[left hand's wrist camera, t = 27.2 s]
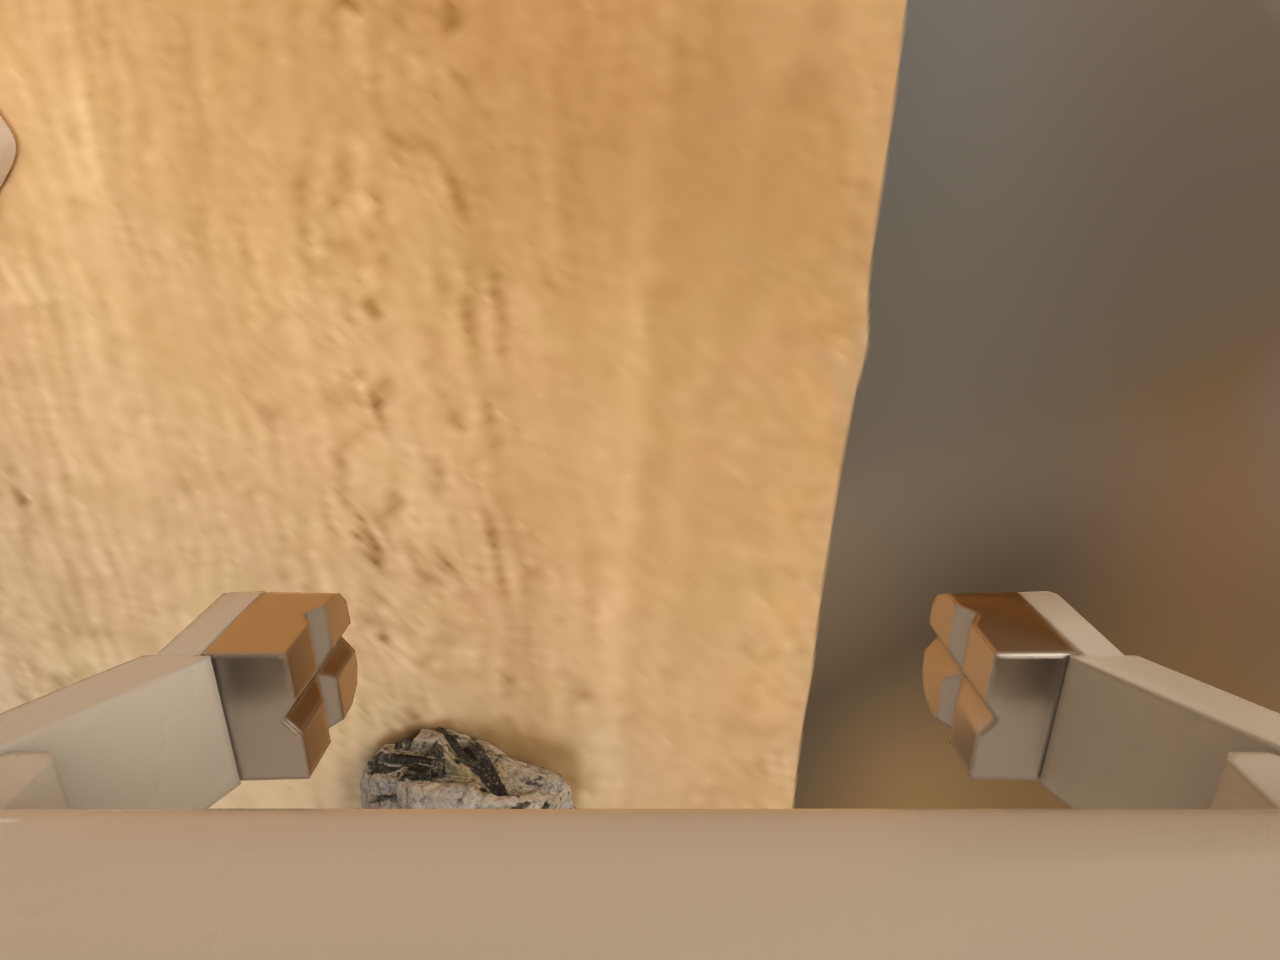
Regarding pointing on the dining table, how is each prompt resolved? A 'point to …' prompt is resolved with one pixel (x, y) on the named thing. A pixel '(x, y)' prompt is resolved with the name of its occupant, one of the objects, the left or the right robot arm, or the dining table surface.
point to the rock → (457, 776)
